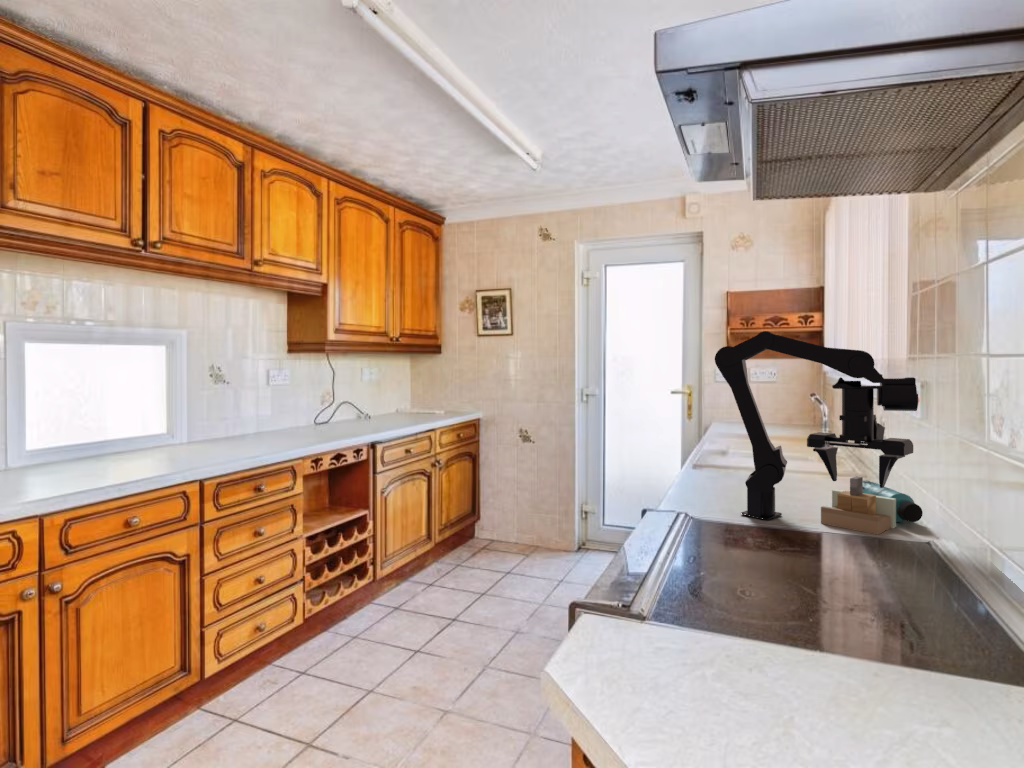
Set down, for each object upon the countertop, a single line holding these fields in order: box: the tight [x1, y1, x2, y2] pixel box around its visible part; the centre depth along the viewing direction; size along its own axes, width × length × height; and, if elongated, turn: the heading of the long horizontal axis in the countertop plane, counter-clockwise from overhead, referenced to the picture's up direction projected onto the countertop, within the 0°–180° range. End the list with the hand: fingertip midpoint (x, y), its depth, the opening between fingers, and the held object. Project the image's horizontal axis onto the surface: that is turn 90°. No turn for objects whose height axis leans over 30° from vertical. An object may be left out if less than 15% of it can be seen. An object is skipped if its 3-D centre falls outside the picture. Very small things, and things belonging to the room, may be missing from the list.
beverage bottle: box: [863, 479, 923, 523], centre depth 130 cm, size 6×7×20 cm
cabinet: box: [837, 475, 876, 515], centre depth 123 cm, size 4×6×8 cm
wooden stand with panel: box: [820, 489, 897, 535], centre depth 123 cm, size 8×12×6 cm, turn 38°
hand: (857, 484), depth 123 cm, fingers open, 9 cm apart
